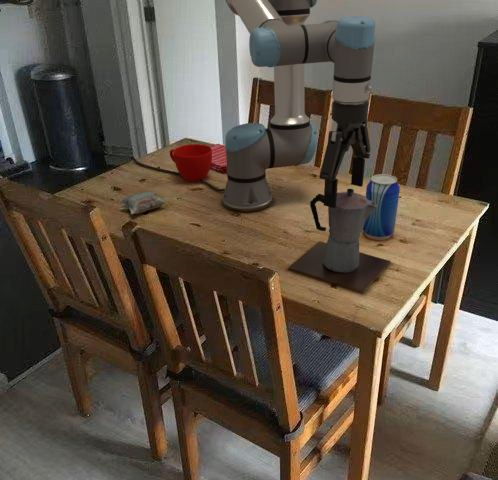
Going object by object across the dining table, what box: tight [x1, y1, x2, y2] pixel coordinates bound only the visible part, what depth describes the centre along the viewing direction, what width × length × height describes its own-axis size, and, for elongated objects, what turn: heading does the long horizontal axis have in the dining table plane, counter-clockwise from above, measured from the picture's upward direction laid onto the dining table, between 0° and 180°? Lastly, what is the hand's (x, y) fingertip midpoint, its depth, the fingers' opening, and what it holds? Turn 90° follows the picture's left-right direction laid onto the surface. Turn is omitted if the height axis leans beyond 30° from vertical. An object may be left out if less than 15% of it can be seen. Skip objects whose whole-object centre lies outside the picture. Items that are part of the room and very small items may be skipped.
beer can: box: [362, 173, 401, 241], centre depth 143 cm, size 8×8×16 cm
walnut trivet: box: [287, 241, 391, 295], centre depth 134 cm, size 20×16×1 cm
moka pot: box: [309, 188, 377, 273], centre depth 128 cm, size 10×15×20 cm, turn 78°
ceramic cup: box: [169, 143, 212, 183], centre depth 185 cm, size 13×17×10 cm
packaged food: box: [119, 190, 168, 216], centre depth 165 cm, size 9×12×5 cm
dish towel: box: [208, 143, 227, 174], centre depth 200 cm, size 17×24×3 cm
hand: (343, 195), depth 124 cm, fingers open, 13 cm apart
